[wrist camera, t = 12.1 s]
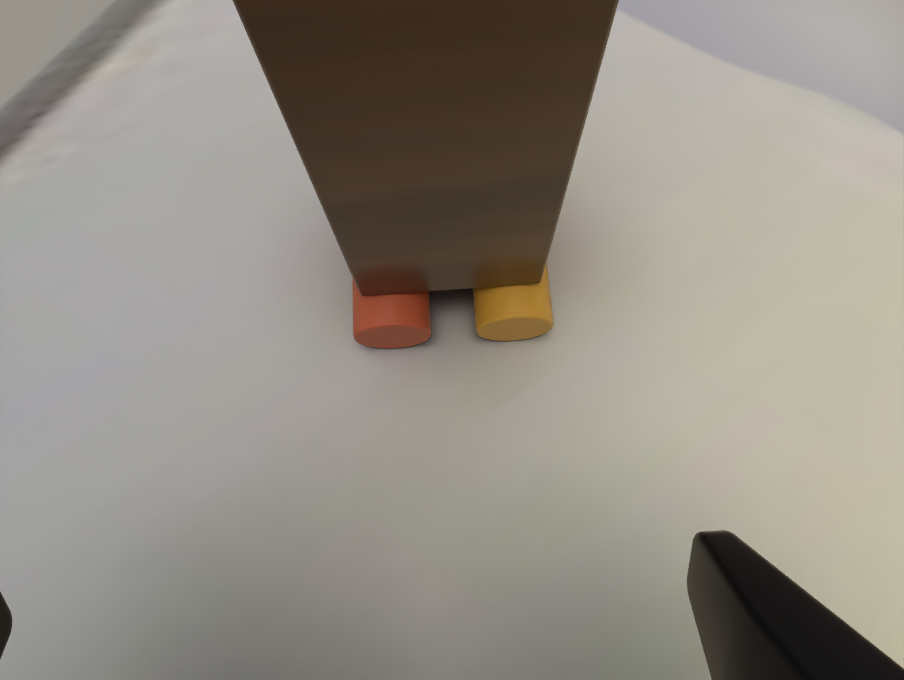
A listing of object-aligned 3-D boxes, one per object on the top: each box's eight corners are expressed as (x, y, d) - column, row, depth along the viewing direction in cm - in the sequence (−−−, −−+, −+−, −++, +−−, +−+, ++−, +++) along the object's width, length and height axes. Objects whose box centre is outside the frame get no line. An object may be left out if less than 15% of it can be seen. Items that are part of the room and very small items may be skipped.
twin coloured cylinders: (548, 339, 22) (558, 315, 20) (360, 351, 22) (347, 328, 20) (531, 177, 24) (538, 137, 21) (356, 188, 24) (344, 150, 21)
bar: (541, 284, 20) (648, -98, 8) (360, 297, 20) (202, -65, 8) (527, 166, 21) (605, -319, 9) (357, 178, 21) (213, -290, 9)
